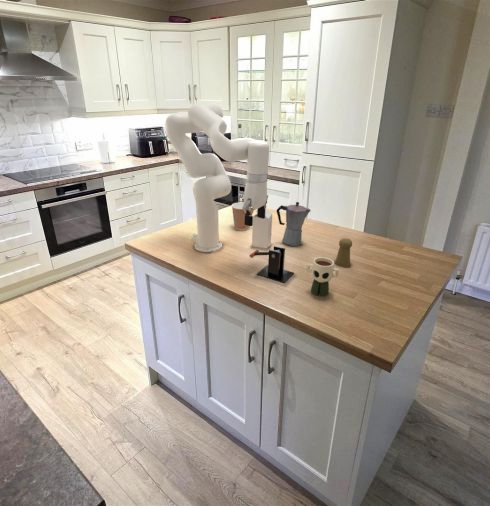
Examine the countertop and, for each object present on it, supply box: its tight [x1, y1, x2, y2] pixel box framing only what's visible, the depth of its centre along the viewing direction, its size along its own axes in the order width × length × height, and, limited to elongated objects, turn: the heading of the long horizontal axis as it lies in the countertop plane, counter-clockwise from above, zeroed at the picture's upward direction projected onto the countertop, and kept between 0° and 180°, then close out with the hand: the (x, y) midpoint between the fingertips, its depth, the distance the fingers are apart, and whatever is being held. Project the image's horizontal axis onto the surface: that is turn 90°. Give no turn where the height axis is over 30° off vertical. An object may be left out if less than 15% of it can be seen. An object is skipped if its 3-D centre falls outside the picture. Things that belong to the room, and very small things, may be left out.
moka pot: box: [276, 201, 312, 247], centre depth 160 cm, size 10×15×20 cm, turn 89°
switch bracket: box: [256, 245, 295, 284], centre depth 133 cm, size 12×9×12 cm
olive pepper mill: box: [334, 237, 353, 268], centre depth 144 cm, size 6×6×11 cm
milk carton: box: [251, 207, 273, 249], centre depth 157 cm, size 7×7×19 cm
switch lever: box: [249, 248, 282, 259], centre depth 134 cm, size 12×5×2 cm, turn 58°
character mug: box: [306, 256, 340, 298], centre depth 122 cm, size 11×7×13 cm, turn 69°
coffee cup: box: [231, 201, 252, 231], centre depth 179 cm, size 10×10×12 cm
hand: (254, 221), depth 133 cm, fingers open, 9 cm apart
